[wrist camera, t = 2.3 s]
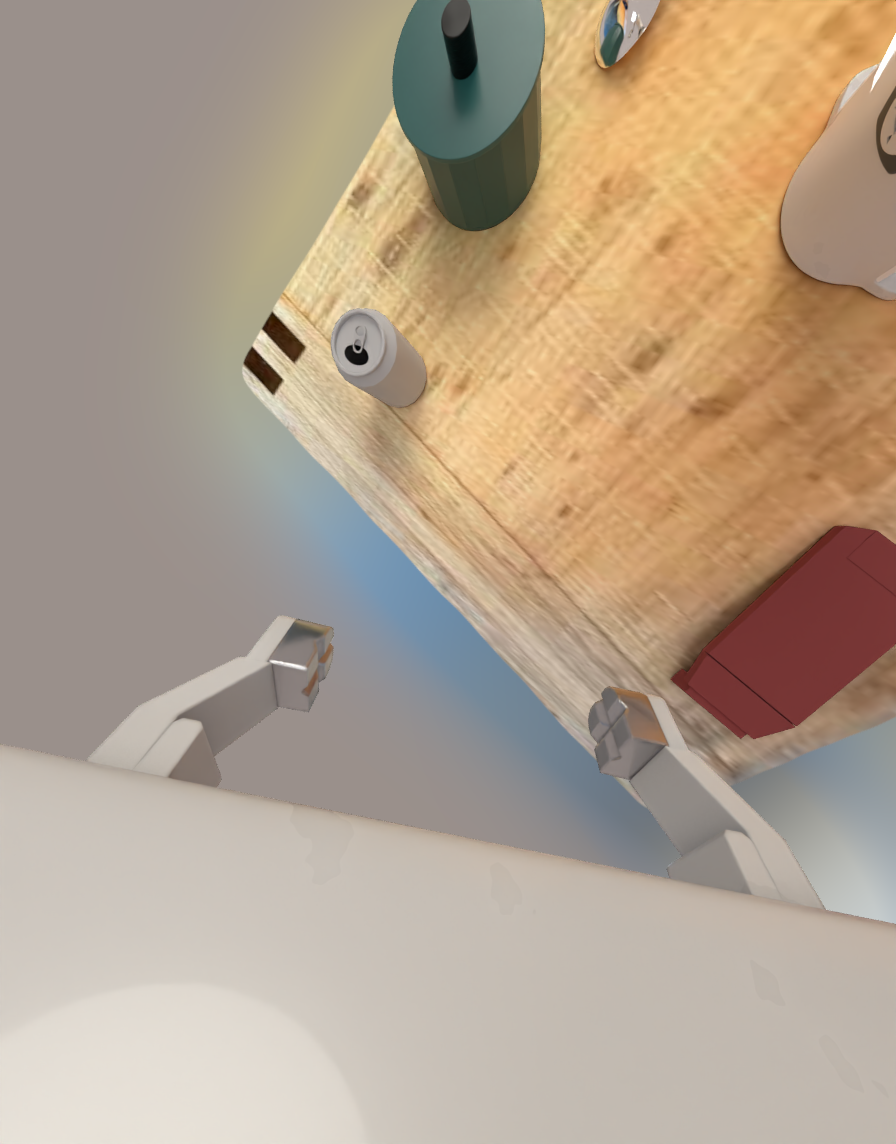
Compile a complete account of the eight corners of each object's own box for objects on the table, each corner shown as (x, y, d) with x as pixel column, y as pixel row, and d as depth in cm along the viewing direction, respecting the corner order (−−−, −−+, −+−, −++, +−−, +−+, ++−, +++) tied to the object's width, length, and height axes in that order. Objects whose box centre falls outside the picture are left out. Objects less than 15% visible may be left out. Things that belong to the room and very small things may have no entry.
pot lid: (475, -73, 29) (464, -160, 25) (579, 50, 29) (583, -19, 25) (370, 98, 33) (347, 46, 30) (459, 205, 33) (447, 167, 29)
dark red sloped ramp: (816, 518, 41) (657, 668, 45) (857, 515, 36) (675, 684, 41) (904, 586, 40) (733, 732, 45) (958, 592, 35) (761, 756, 40)
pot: (491, 63, 38) (473, -72, 29) (564, 151, 37) (570, 43, 28) (411, 177, 42) (373, 90, 33) (477, 256, 42) (458, 191, 33)
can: (369, 397, 48) (315, 368, 37) (387, 339, 46) (335, 289, 35) (416, 417, 47) (376, 393, 36) (437, 358, 45) (400, 313, 34)
